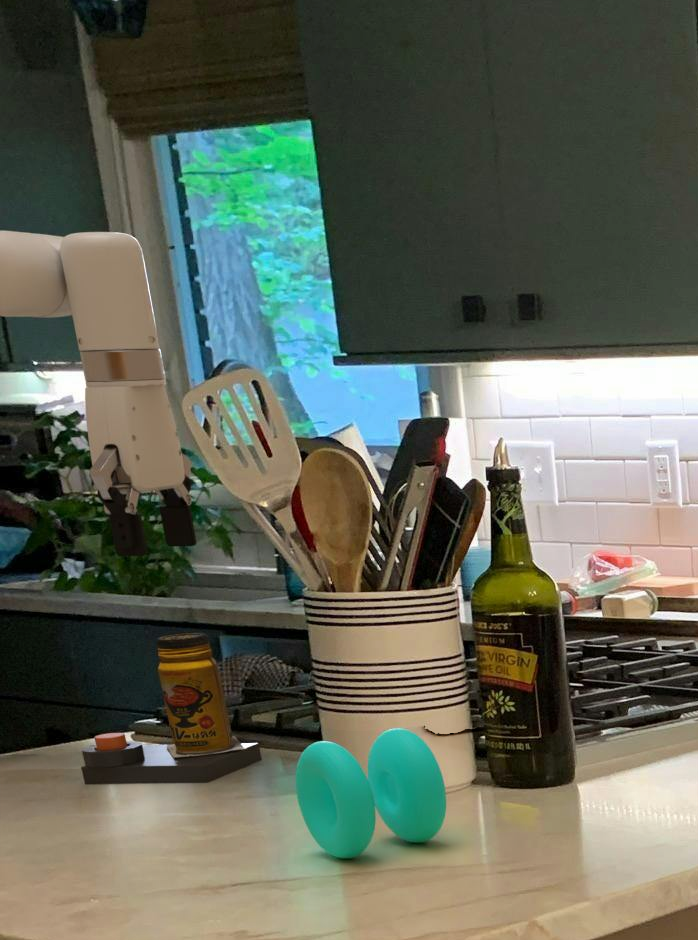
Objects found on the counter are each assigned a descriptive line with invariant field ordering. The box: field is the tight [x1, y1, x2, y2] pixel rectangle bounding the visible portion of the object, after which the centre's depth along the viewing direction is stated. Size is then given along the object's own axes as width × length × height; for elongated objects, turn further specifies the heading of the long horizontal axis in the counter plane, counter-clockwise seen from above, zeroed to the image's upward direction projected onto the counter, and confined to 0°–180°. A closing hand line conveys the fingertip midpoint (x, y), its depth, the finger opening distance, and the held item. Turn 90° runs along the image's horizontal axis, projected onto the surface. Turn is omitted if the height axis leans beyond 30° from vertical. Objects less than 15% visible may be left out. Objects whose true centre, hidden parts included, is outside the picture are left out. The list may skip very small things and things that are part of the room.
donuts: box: [295, 727, 447, 859], centre depth 168 cm, size 10×10×10 cm
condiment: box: [155, 632, 245, 758], centre depth 207 cm, size 7×8×12 cm
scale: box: [80, 740, 262, 785], centre depth 207 cm, size 14×12×4 cm
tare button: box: [94, 732, 127, 750], centre depth 204 cm, size 3×3×2 cm
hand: (157, 550), depth 200 cm, fingers open, 9 cm apart
